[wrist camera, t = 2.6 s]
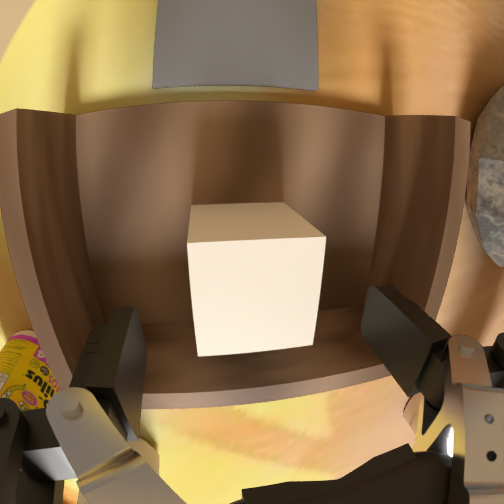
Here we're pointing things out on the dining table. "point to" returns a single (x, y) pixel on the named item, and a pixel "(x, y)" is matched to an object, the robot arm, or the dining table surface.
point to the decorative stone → (488, 178)
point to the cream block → (253, 277)
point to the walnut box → (224, 192)
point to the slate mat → (236, 43)
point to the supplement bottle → (26, 372)
